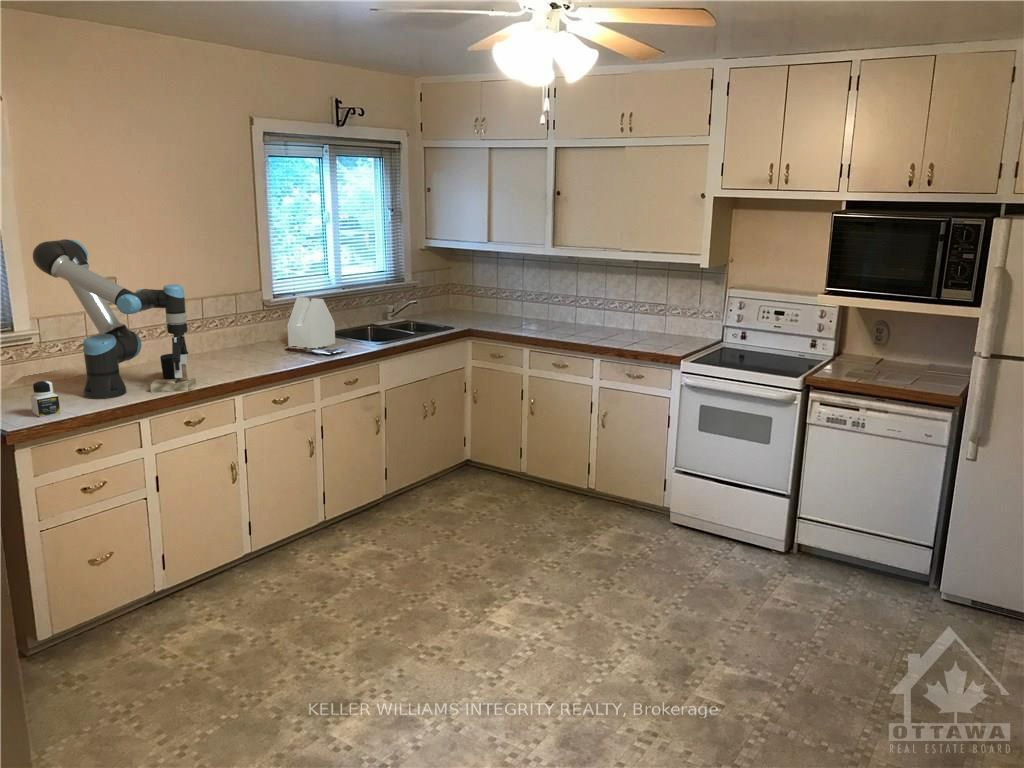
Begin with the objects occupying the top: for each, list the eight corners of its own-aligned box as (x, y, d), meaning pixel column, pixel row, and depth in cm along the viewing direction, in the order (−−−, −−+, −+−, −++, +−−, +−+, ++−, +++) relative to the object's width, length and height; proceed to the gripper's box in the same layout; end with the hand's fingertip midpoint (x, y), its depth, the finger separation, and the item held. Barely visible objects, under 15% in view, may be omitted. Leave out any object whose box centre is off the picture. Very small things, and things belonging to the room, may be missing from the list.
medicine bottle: (39, 417, 282) (34, 385, 278) (32, 413, 286) (27, 382, 283) (60, 413, 287) (56, 382, 284) (53, 409, 291) (49, 378, 288)
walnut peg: (176, 389, 321) (174, 366, 318) (178, 387, 325) (176, 364, 322) (187, 389, 322) (185, 365, 319) (189, 386, 326) (187, 363, 323)
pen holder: (186, 375, 346) (184, 353, 343) (184, 380, 337) (182, 357, 334) (163, 376, 343) (161, 354, 340) (161, 381, 334) (159, 358, 332)
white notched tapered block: (312, 340, 424) (310, 294, 418) (335, 343, 418) (333, 297, 412) (288, 346, 407) (285, 299, 401) (312, 349, 401) (309, 301, 395)
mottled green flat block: (151, 392, 317) (150, 385, 316) (155, 386, 325) (154, 379, 324) (192, 390, 320) (192, 383, 319) (196, 385, 329) (195, 378, 328)
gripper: (181, 328, 306) (186, 380, 311) (191, 317, 329) (195, 366, 334) (161, 328, 304) (166, 381, 309) (172, 318, 327) (177, 367, 333)
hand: (181, 373), depth 322 cm, fingers open, 13 cm apart
